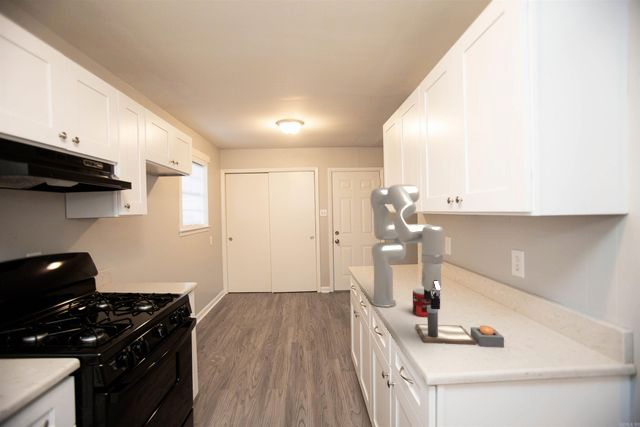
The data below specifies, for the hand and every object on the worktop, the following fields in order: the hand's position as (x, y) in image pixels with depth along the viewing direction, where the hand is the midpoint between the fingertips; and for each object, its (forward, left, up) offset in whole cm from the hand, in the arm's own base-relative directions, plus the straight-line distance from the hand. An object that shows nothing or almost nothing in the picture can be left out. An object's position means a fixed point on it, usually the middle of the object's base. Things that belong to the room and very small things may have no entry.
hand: (431, 304), depth 107 cm
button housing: (+1, +19, -13) cm, 23 cm away
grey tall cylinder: (+1, 0, -12) cm, 12 cm away
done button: (+1, +19, -11) cm, 22 cm away
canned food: (-25, +2, -13) cm, 29 cm away
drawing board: (-3, +5, -13) cm, 14 cm away
